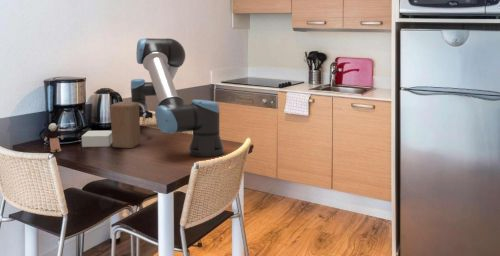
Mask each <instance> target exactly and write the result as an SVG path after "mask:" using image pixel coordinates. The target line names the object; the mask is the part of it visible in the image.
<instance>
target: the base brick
mask: <svg viewBox="0 0 500 256" xmlns="http://www.w3.org/2000/svg"><path fill="white" fill-rule="evenodd" d="M111 145H113V144H112V129H111V130H87V131H86V132H85V133H84V134H83V135H81V147H82V148H96V147H97V148H99V147H101V148H102V147H103V148H104V147H106V148H107V147H110V146H111Z"/></svg>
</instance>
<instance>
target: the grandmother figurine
mask: <svg viewBox="0 0 500 256" xmlns="http://www.w3.org/2000/svg"><path fill="white" fill-rule="evenodd" d="M57 127H58V126H57V124H56V123H55V122H52V123H50V124H49V125H48V130H50V131H49V132H47V133H46V135H45V136H44V139H43V140H44V141H45V142H46V141H48V139H49V147H50V152H51V153H56V152H61V151H62V149H61V144H60V140H64V137H63V134H61V133H60V131H57ZM59 138H60V140H59Z"/></svg>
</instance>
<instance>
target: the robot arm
mask: <svg viewBox="0 0 500 256" xmlns="http://www.w3.org/2000/svg"><path fill="white" fill-rule="evenodd" d="M185 60H186V52H185V49H184V46H183V45H182V43H180V42H179V41H178V40H176V39H173V38H149V37H148V38H147V37H146V38H140V39H139V40H137V44H136V62H137V64H139V65H142V66H143V68H144V69H145V70H146V71H148V73H149V77H150V79H151V81H150V82H148V81H146V80H145V79H143V78H135V79H134V78H133V79H131V81H130V91H131V92H130V93H131V102H137V103H139V118H142V121H143V122H145V121H146V120H147V119H149V118H150V119H152V118H153V112H152V111H149V110H148V109H147V107H148V105H147V100H146V98H147V97H150V96H152V97H153V96H156V97H157V100H158V103H157V107H156V108H155V112H154V113H155V114H154V115H155V116H154V117H155V121H156V125H157V128H158V129H159V130H160V132H162V133H164V134H176V133H184V132H192V137H191V141H190V144H189V147H188V148H189V149H188V152H189V155H191V156H194V157H201V158H203V157H204V158H205V157H207V158H209V157H218V156H220V155H222V154H224V144H223V141H222V139H221V136H220V135H221V134H220V113H221V112H220V105H219V103H218V102H216V101H213V100H207V99H192V100H191V103H185V101H184V99H183V98H182V97H180V96H178V92H177V89H176V87H175V84H174V82H173V80H174V78H175V76H176V74H177V72H178V69H179V68H180V67H182V66H183V64H184V63H185Z"/></svg>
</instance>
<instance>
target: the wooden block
mask: <svg viewBox="0 0 500 256" xmlns="http://www.w3.org/2000/svg"><path fill="white" fill-rule="evenodd" d="M109 107H110V108H109V110H110V123H111V124H110V125H111V126H110V127H111V130H112V144H111V145H112V147H113V148H119V149H120V148H121V149H133V148H135V147H137V146H139V145H140V144H141V143H142V142H141V141H142V140H141V121H140V118H141V117H140V118H139V103H137V102H132V101H119V102H115V103H112V104H110V106H109Z"/></svg>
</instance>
